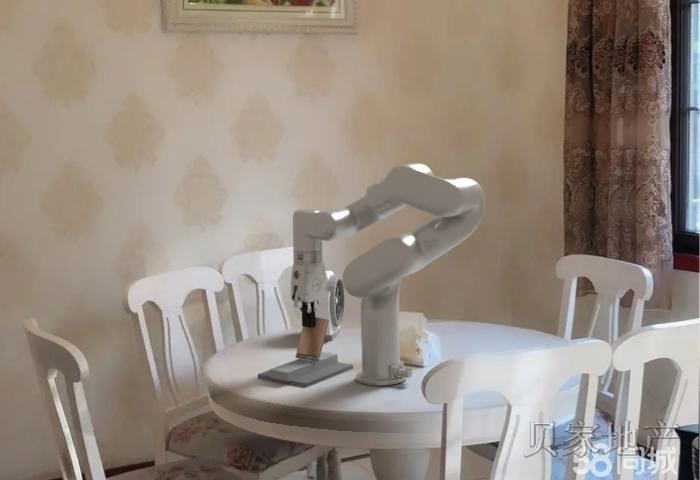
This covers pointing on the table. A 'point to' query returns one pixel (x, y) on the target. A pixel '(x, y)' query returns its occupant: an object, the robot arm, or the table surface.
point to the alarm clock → (332, 305)
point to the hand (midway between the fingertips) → (308, 326)
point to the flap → (312, 340)
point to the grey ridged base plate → (307, 370)
